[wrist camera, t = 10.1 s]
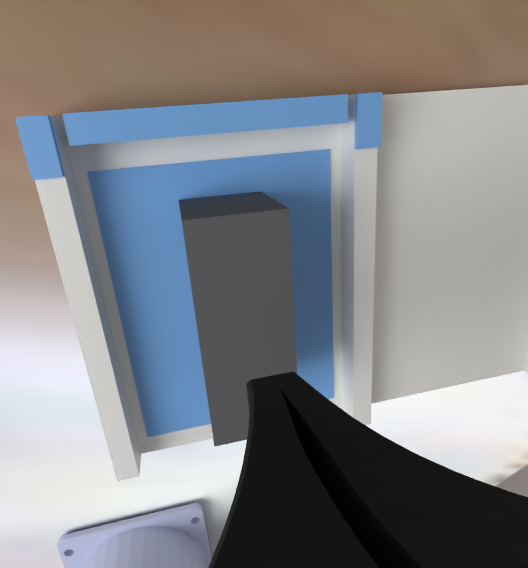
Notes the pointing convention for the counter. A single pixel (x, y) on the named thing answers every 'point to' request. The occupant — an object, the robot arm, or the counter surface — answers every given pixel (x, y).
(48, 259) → the counter surface
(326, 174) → the tray
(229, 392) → the dark gray rectangular block
